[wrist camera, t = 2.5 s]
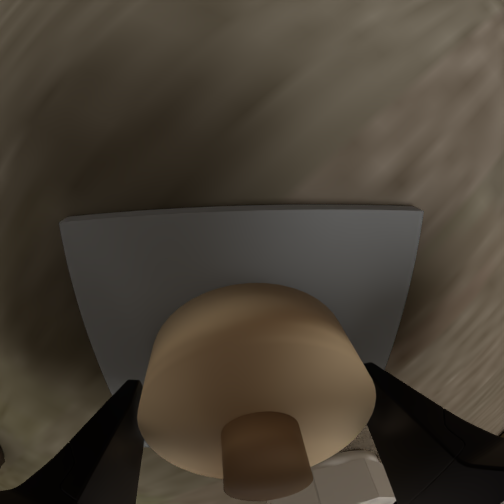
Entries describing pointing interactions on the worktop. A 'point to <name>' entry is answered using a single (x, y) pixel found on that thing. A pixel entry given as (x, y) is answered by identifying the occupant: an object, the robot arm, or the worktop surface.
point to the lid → (254, 389)
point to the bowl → (345, 482)
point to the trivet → (237, 269)
